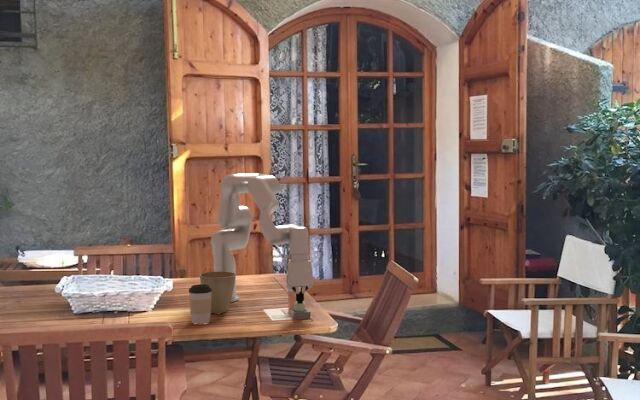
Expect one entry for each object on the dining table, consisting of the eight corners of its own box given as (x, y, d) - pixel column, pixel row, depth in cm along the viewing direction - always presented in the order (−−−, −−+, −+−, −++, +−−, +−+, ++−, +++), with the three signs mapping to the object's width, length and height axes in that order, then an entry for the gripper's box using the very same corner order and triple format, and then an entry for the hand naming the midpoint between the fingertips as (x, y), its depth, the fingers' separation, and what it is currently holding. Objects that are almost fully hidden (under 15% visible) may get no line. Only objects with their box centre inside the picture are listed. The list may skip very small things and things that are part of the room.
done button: (295, 316, 296) (295, 304, 296) (293, 314, 301) (293, 302, 300) (306, 315, 297) (306, 303, 297) (304, 313, 302) (303, 301, 301)
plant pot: (207, 317, 301) (206, 278, 300) (195, 310, 314) (194, 273, 313) (241, 313, 308) (241, 275, 307) (229, 306, 321) (228, 270, 320)
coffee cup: (190, 320, 297) (189, 283, 296) (213, 319, 298) (212, 282, 297) (188, 325, 288) (187, 287, 287) (212, 324, 289) (211, 286, 288)
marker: (289, 312, 306) (288, 285, 305) (287, 310, 309) (287, 284, 308) (297, 311, 307) (296, 285, 306) (295, 309, 310) (294, 283, 309)
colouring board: (272, 322, 293) (272, 320, 293) (262, 311, 312) (262, 309, 312) (311, 319, 297) (311, 317, 297) (300, 308, 316) (300, 306, 316)
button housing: (293, 318, 295) (293, 312, 295) (289, 315, 301) (289, 309, 301) (310, 317, 297) (310, 311, 296) (306, 313, 303) (306, 307, 303)
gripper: (282, 259, 292) (283, 306, 293) (319, 257, 295) (320, 303, 297) (278, 257, 299) (279, 302, 300) (314, 255, 303) (315, 299, 304)
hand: (300, 302), depth 298 cm, fingers closed
